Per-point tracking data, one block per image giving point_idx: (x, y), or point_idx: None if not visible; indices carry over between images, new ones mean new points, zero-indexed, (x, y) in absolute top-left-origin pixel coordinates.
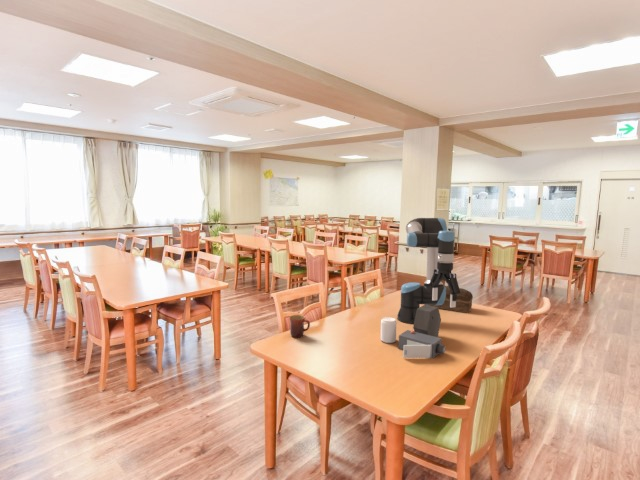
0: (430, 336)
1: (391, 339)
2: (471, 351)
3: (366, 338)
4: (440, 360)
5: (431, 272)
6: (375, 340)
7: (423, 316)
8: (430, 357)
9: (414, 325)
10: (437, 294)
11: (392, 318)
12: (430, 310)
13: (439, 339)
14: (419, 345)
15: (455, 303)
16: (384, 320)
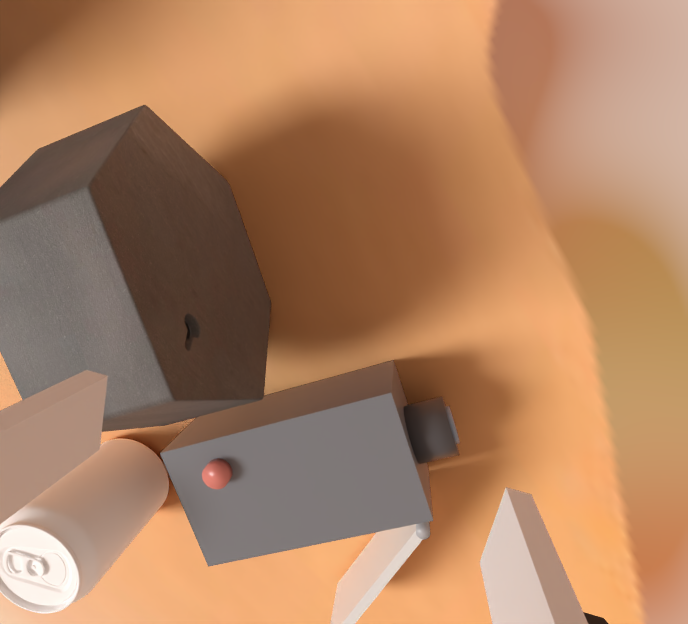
0: (326, 426)
1: (158, 504)
2: (504, 188)
3: None
4: (466, 455)
5: None
6: None
7: (156, 415)
8: None
9: (160, 425)
10: (32, 417)
11: (24, 528)
12: (143, 372)
13: (399, 423)
14: (383, 583)
15: (547, 540)
16: (44, 612)
